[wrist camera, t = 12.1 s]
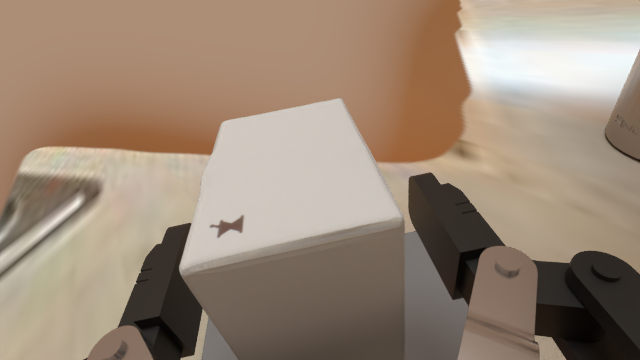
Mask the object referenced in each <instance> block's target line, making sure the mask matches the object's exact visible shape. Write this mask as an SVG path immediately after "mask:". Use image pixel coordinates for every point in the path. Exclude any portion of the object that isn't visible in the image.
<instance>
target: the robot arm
mask: <svg viewBox="0 0 640 360" xmlns="http://www.w3.org/2000/svg"><path fill="white" fill-rule="evenodd" d="M605 134H606V136H607V138H608V140H609V141H610V142H611V143H612V144H613V145H614V146H615V147H617V148H618V149H620V150H621V151H623V152H624V153H626V154H628V155H630V156H632V157H635V158H637V159H639V160H640V50H639V52H638V55H637V57H636V59H635V62H634V64H633V66H632V69H631V71H630V73H629V75H628V78H627V80H626V82H625V84H624V87H623V89H622V91H621V94H620V96H619V98H618V101H617V103H616V105H615V108H614V110H613V112H612V114H611V117H610V119H609V121H608V124H607V126H606V130H605ZM408 208H409V215H410V219H411V221H412V224H413V226H414V228H415V230H416V232H417V233H418V235H419V237H420V239H421V241H422V243H423V245H424V247H425V249H426V251H427V253H428V254H429V256H430V258H431V260H432V262H433V264H434V266H435V268H436V270H437V272H438V274H439V275H440V277H441V279H442V281H443V283H444V285H445V287H446V289H447V291H448V293H449V295H450V296H451V298H452V300H457V299H461V298H464V300H465V301H466V303H467V305H468V312H467V317H466V321H465V326H464V330H463V335H462V340H461V344H460V349H459V354H458V358H457V360H539V356H540V353H539V345H538V343H537V342H535V338H534V335H538V336H546V337H552V338H553V340H554V341H555V343H556V344H557V346H558V347H559V349H560V350H561V352H562V353H563V355H564V356H565V358H566V359H567V360H640V274H639V273H638V272H637V271H636V270H634V269H633V268H632V267H631V266H630V265H629V264H627V263H626V262H624V261H623V260H621V259H619V258H617V257H615V256H613V255H610V254H607V253H603V252H598V251H584V252H580V253H578V254H576V255H575V256H574V257H573V258H572V260H571V262H570V263H559V262H543V261H535V260H531V259H530V258H529V257H528V256H527V255H526V254H524V253H523V252H521V251H519V250H517V249H514V248H511V247H506V246H505V245H504V243H503V242H502V241H501V240H500V238H499V237H498V236H497V235H496V233H495V232H494V231H493V230H492V228H491V227H490V226H489V225H488V223H487V222H486V221H485V220H484V218H483V217H482V216H481V215H480V213H479V212H477V210H476V208H475V207H474V206H473V205H472V203H470V201H469V200H468V198H467V197H466V196H465V195H464V193H463V192H462V191H461V190H459V189H458V188H456V187H454V186H453V185H451V184H449V183H447V184H442V185H441V184H440V183H439V182H438V180H437V179H436V178H435V176H434V175H433V174H432V173H425V174H421V175H416V176H411V177H410V178H409V203H408ZM190 227H191V223H187V224H183V225H178V226H173V227H169V228H168V229H167V230H166V233H165V236H164V238H163V241H162V244H157V245H156V246H155V247H154V248H153V249H152V250H151V252H150V253H149V254H148V255H147V257H146V258H145V261H144V263H143V266H142V268H141V273H139V276H138V278H137V281H136V282H137V284H135V286H134V288H133V291H132V293H131V296H130V298H129V301H128V303H127V306H126V308H125V311H124V313H123V316H122V318H121V321H120V323H119V326H118V328H116V329H114V330H112V331H110V332H109V333H107V334H106V335H105V336H104V337H102V338H101V339H100V340H99V341H98V342H97V344H96V345H95V346H94V347H93V349H92V350H91V352H90V354H89V356H88V358H86V359H84V360H180V359H181V358H183V357H187V356H192V355H194V353H195V347H196V342H197V336H198V331H199V326H200V320H201V315H202V309H203V308H202V306H201V305H200V303H199V302H198V300H197V299H196V298H195V296H194V295H193V293H192V292H191V290H190V289H189V287H188V286H187V284H186V283H185V281H184V280H183V278H182V276H181V274H180V271H179V266H180V262H181V259H182V255H183V252H184V248H185V245H186V241H187V237H188V234H189V231H190Z"/></svg>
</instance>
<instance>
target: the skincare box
mask: <svg viewBox="0 0 640 360" xmlns="http://www.w3.org/2000/svg"><path fill="white" fill-rule="evenodd" d="M200 186H201V188H200V194H199V198H198V202H197V205H196V209H195V212H194V217H193V221H192V224H191V227H190V231H189V234H188V237H187V241H186V245H185V248H184V252H183V255H182V259H181V262H180V266H179V271H180V274H181V276H182V278H183V280H184V281H185V283H186V284H187V286H188V287H189V289H190V290H191V292H192V293H193V295H194V296H195V298H196V299H197V300H198V302H199V303H200V305H201V306H202V308H203V309H204V311H205V312H206V314H207V315H208V317H209V318H210V320H211V321H212V323H213V324H214V325H215V327H216V328H217V330H218V331H219V333H220V334H221V335H222V337H223V338H224V340H225V341H226V343H227V344H228V345H229V347H230V348H231V350H232V351H233V353H234V354H235V356H236V357H237V358H238V360H405V314H404V313H405V305H404V297H405V248H404V217H403V214H402V212H401V210H400V208H399V206H398V204H397V202H396V200H395V198H394V196H393V194H392V192H391V190H390V188H389V187H388V185H387V183H386V181H385V179H384V177H383V175H382V173H381V171H380V169H379V167H378V165H377V163H376V161H375V159H374V158H373V156H372V154H371V152H370V150H369V148H368V146H367V145H366V143H365V141H364V139H363V138H362V136H361V134H360V132H359V130H358V129H357V127H356V125H355V123H354V121H353V119H352V117H351V115H350V113H349V112H348V110H347V108H346V106H345V103H344V101H343V100H342V99H341V98H337V99H334V100H329V101H324V102H318V103H314V104H309V105H305V106H299V107H294V108H289V109H284V110H280V111H274V112H269V113H264V114H259V115H254V116H248V117H243V118H238V119H232V120H227V121H224V122H223V123H222V124H221V126H220V128H219V132H218V135H217V139H216V142H215V145H214V149H213V153H212V155H211V156H210V157H209V159H208V161H207V163H206V166H205V169H204V172H203V175H202V178H201V183H200Z"/></svg>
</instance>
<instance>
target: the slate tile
mask: <svg viewBox="0 0 640 360" xmlns="http://www.w3.org/2000/svg"><path fill="white" fill-rule="evenodd" d="M404 248H405V297H404V305H405V313H404V314H405V360H457V358H458V354H459V349H460V344H461V340H462V335H463V330H464V326H465V321H466V317H467V312H468V305H467V303H466V301H465V300H464V298H461V299H457V300H452V298H451V296H450V295H449V293H448V291H447V289H446V287H445V285H444V283H443V281H442V279H441V277H440V275H439V274H438V272H437V270H436V268H435V266H434V264H433V262H432V260H431V258H430V256H429V254H428V253H427V251H426V249H425V247H424V245H423V243H422V241H421V239H420V237H419V235H418V233H417V232H416V231H414V232H409V233H405V234H404ZM202 360H238V358H237V357H236V356H235V354H234V353H233V351H232V350H231V348H230V347H229V345H228V344H227V343H226V341H225V340H224V338H223V337H222V335H221V334H220V333H219V331H218V330H217V328H216V327H215V325H214V324H213V323H212V321H211V320H210V318H209V317H208V323H207V329H206V335H205V341H204V348H203V354H202Z"/></svg>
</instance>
